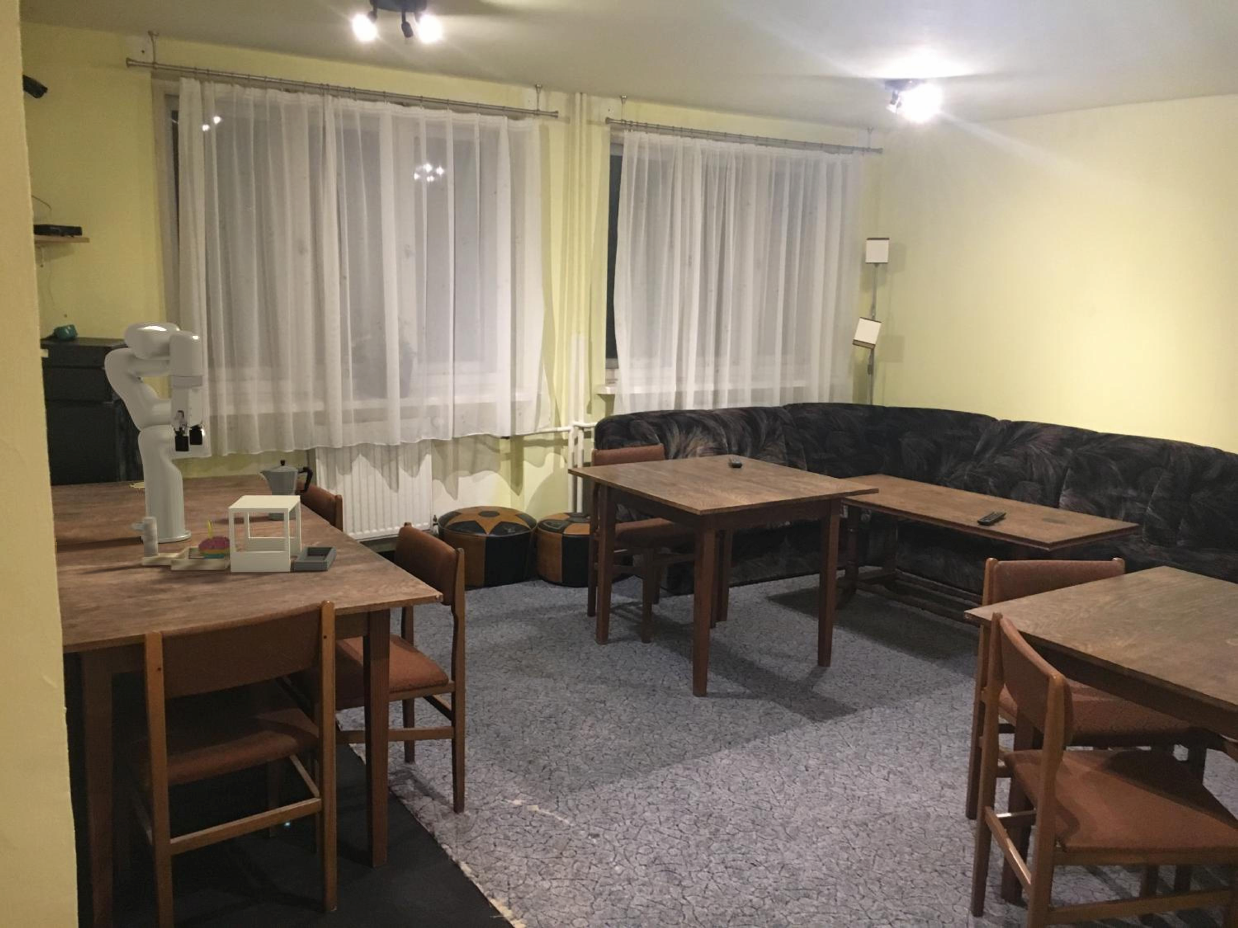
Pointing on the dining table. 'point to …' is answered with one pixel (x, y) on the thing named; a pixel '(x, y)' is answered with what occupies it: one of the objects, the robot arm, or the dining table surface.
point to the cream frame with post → (176, 559)
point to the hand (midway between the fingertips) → (189, 448)
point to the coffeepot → (286, 484)
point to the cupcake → (214, 546)
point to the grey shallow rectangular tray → (315, 558)
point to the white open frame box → (265, 550)
